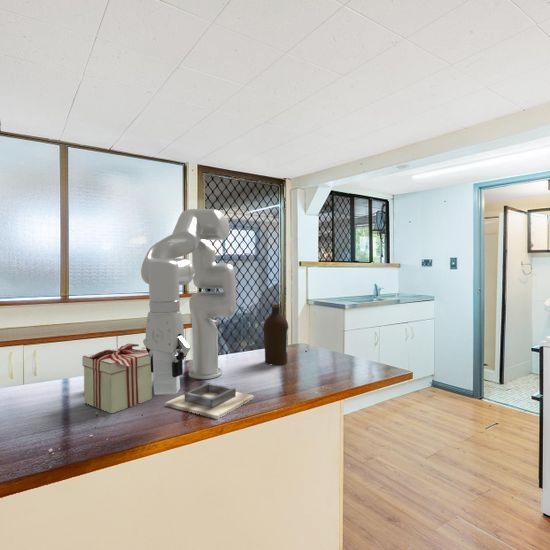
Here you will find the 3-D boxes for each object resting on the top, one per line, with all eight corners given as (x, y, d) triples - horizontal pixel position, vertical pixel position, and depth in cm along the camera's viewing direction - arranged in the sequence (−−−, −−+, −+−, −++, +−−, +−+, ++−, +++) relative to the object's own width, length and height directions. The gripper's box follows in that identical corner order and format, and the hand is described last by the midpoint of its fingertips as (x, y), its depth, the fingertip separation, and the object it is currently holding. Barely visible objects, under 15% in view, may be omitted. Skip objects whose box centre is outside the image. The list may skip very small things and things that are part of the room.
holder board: (165, 405, 116) (165, 394, 116) (205, 388, 131) (204, 378, 131) (217, 419, 106) (217, 406, 106) (253, 398, 121) (253, 387, 121)
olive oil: (266, 366, 157) (266, 305, 156) (261, 360, 167) (261, 302, 166) (291, 364, 159) (291, 304, 158) (285, 358, 170) (284, 302, 169)
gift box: (120, 417, 108) (119, 356, 107) (79, 405, 116) (77, 349, 116) (165, 398, 122) (164, 344, 122) (125, 388, 131) (124, 339, 131)
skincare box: (180, 388, 104) (179, 345, 103) (176, 394, 100) (175, 349, 99) (157, 389, 104) (156, 345, 103) (153, 395, 100) (151, 349, 99)
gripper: (130, 306, 102) (132, 372, 103) (178, 311, 93) (180, 383, 94) (152, 303, 108) (154, 364, 109) (199, 307, 99) (201, 374, 101)
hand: (166, 373), depth 102 cm, fingers closed on skincare box, 7 cm apart
